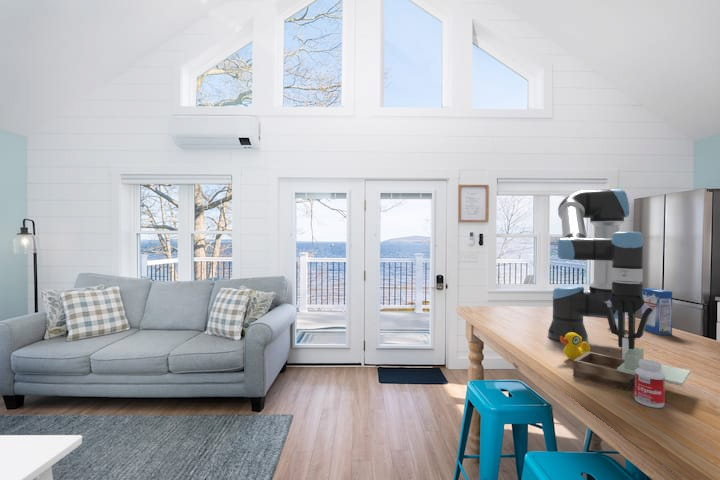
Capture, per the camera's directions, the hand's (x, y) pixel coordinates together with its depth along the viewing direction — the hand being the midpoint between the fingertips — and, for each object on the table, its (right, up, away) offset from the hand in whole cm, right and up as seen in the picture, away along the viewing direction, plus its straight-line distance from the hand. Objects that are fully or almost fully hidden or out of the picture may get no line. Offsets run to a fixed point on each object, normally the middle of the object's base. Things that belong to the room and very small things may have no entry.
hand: (626, 358), depth 107 cm
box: (-3, -7, +4) cm, 9 cm away
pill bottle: (-4, -8, -14) cm, 16 cm away
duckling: (-4, -7, +20) cm, 21 cm away
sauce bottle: (+44, -7, +65) cm, 79 cm away
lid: (+4, -2, -5) cm, 7 cm away
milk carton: (+59, -8, +59) cm, 84 cm away
